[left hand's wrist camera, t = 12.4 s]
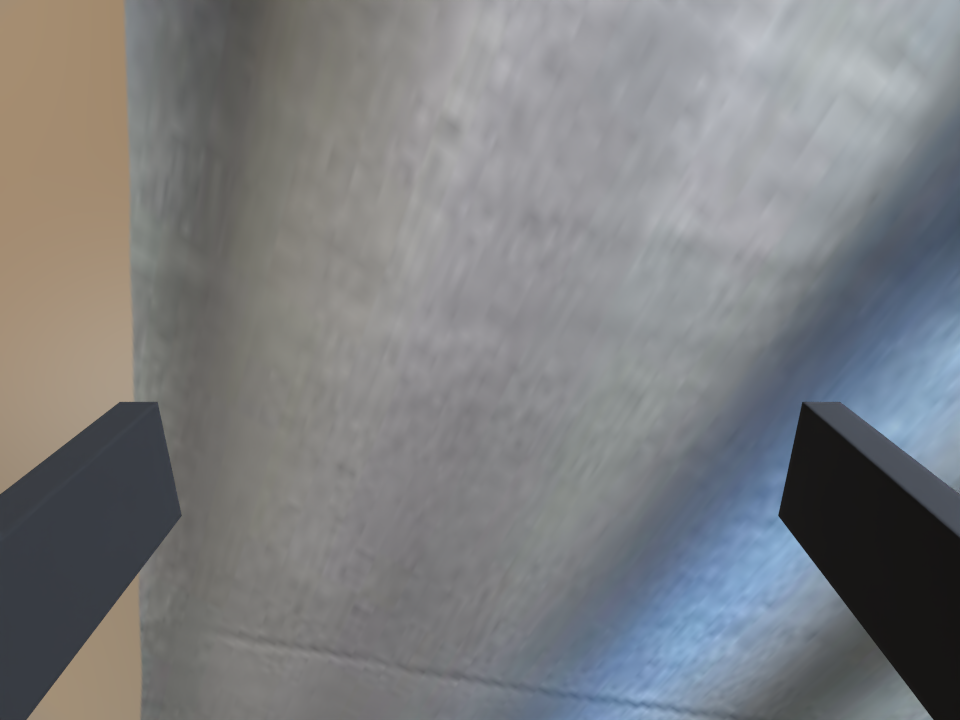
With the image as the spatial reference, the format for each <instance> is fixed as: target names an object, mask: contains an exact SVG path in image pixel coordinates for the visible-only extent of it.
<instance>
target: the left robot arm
mask: <svg viewBox="0 0 960 720" xmlns="http://www.w3.org/2000/svg"><path fill="white" fill-rule="evenodd" d="M181 516H182V515H181V510H180V506H179V501H178V496H177V492H176V487H175V482H174V477H173V473H172V468H171V463H170V458H169V454H168V449H167V444H166V440H165V435H164V430H163V425H162V421H161V416H160V411H159V407H158V402H119V403H118V404H117V405H115V406H114V407H113V408H112V409H110V410H109V411H108V412H106V413H105V414H104V415H103V416H101V417H100V418H99V419H97V420H96V421H95V422H93V423H92V424H91V425H90V426H88V427H87V428H86V429H84V430H83V431H82V432H80V433H79V434H78V435H77V436H75V437H74V438H73V439H71V440H70V441H69V442H68V443H66V444H65V445H64V446H62V447H61V448H60V449H58V450H57V451H56V452H55V453H53V454H52V455H51V456H50V457H48V458H47V459H46V460H44V461H43V462H42V463H40V464H39V465H38V466H36V467H35V468H34V469H33V470H31V471H30V472H29V473H27V474H26V475H25V476H24V477H22V478H21V479H20V480H18V481H17V482H16V483H15V484H13V485H12V486H11V487H9V488H8V489H7V490H5V491H4V492H3V493H2V494H0V720H27V718H28V717H29V716H30V714H31V713H32V712H33V710H34V709H35V708H36V706H37V705H38V704H39V702H40V701H41V700H42V698H43V697H44V696H45V695H46V693H47V692H48V691H49V689H50V688H51V687H52V685H53V684H54V683H55V681H56V680H57V679H58V677H59V676H60V675H61V674H62V672H63V671H64V670H65V668H66V667H67V666H68V664H69V663H70V662H71V660H72V659H73V658H74V656H75V655H76V654H77V653H78V651H79V650H80V649H81V647H82V646H83V645H84V643H85V642H86V641H87V639H88V638H89V637H90V635H91V634H92V633H93V631H94V630H95V629H96V628H97V626H98V625H99V624H100V622H101V621H102V620H103V618H104V617H105V616H106V614H107V613H108V612H109V610H110V609H111V608H112V607H113V605H114V604H115V603H116V601H117V600H118V599H119V597H120V596H121V595H122V593H123V592H124V591H125V589H126V588H127V587H128V586H129V584H130V583H131V582H132V580H133V579H134V578H135V576H136V575H137V574H138V572H139V571H140V570H141V568H142V567H143V566H144V565H145V563H146V562H147V561H148V559H149V558H150V557H151V555H152V554H153V553H154V551H155V550H156V549H157V547H158V546H159V545H160V543H161V542H162V541H163V540H164V538H165V537H166V536H167V534H168V533H169V532H170V530H171V529H172V528H173V526H174V525H175V524H176V522H177V521H178V520H179V519H180V517H181ZM778 516H779V517H780V519H781V520H782V521H783V522H784V524H785V525H786V526H787V528H788V529H789V530H790V532H791V533H792V534H793V536H794V537H795V538H796V540H797V541H798V542H799V543H800V545H801V546H802V547H803V549H804V550H805V551H806V553H807V554H808V555H809V557H810V558H811V559H812V561H813V562H814V563H815V565H816V566H817V567H818V568H819V570H820V571H821V572H822V574H823V575H824V576H825V578H826V579H827V580H828V582H829V583H830V584H831V586H832V587H833V588H834V589H835V591H836V592H837V593H838V595H839V596H840V597H841V599H842V600H843V601H844V603H845V604H846V605H847V607H848V608H849V609H850V610H851V612H852V613H853V614H854V616H855V617H856V618H857V620H858V621H859V622H860V624H861V625H862V626H863V628H864V629H865V630H866V632H867V633H868V634H869V635H870V637H871V638H872V639H873V641H874V642H875V643H876V645H877V646H878V647H879V649H880V650H881V651H882V653H883V654H884V655H885V656H886V658H887V659H888V660H889V662H890V663H891V664H892V666H893V667H894V668H895V670H896V671H897V672H898V674H899V675H900V676H901V677H902V679H903V680H904V681H905V683H906V684H907V685H908V687H909V688H910V689H911V691H912V692H913V693H914V695H915V696H916V697H917V699H918V700H919V701H920V702H921V704H922V705H923V706H924V708H925V709H926V710H927V712H928V713H929V714H930V716H931V717H932V718H933V720H960V494H958V493H957V492H956V491H955V490H953V489H952V488H951V487H949V486H948V485H947V484H946V483H944V482H943V481H942V480H940V479H939V478H938V477H936V476H935V475H934V474H933V473H931V472H930V471H929V470H927V469H926V468H925V467H924V466H922V465H921V464H920V463H918V462H917V461H916V460H914V459H913V458H912V457H911V456H909V455H908V454H907V453H905V452H904V451H903V450H902V449H900V448H899V447H898V446H896V445H895V444H894V443H892V442H891V441H890V440H889V439H887V438H886V437H885V436H883V435H882V434H881V433H880V432H878V431H877V430H876V429H874V428H873V427H872V426H870V425H869V424H868V423H867V422H865V421H864V420H863V419H861V418H860V417H859V416H858V415H856V414H855V413H854V412H852V411H851V410H850V409H848V408H847V407H846V406H845V405H843V404H842V403H841V402H802V407H801V411H800V416H799V421H798V425H797V430H796V435H795V440H794V444H793V449H792V454H791V458H790V463H789V468H788V473H787V477H786V482H785V487H784V492H783V496H782V501H781V506H780V510H779V515H778Z"/></svg>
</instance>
